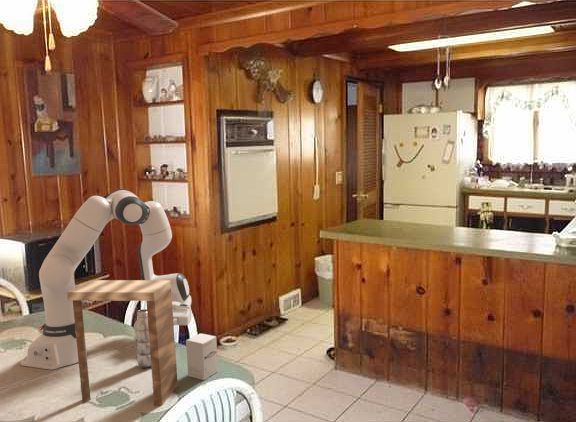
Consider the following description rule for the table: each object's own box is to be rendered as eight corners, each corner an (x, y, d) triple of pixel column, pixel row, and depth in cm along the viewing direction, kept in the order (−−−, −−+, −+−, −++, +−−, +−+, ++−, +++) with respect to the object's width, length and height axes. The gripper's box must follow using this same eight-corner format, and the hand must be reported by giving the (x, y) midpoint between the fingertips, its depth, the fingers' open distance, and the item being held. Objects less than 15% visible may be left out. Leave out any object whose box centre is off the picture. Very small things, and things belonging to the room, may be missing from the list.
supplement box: (204, 381, 166) (202, 343, 164) (187, 376, 170) (185, 339, 168) (218, 371, 172) (216, 336, 171) (202, 367, 176) (200, 332, 174)
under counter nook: (77, 401, 155) (66, 292, 151) (99, 382, 168) (89, 280, 163) (162, 405, 151) (153, 292, 147) (177, 384, 164) (170, 280, 160)
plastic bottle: (151, 370, 175) (147, 314, 173) (133, 369, 177) (129, 313, 174) (160, 362, 182) (156, 308, 179) (142, 361, 183) (138, 307, 180)
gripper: (144, 304, 203) (129, 316, 189) (194, 305, 200) (182, 317, 186) (145, 319, 204) (130, 332, 190) (195, 320, 201) (183, 333, 187)
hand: (156, 325), depth 188 cm, fingers open, 8 cm apart
